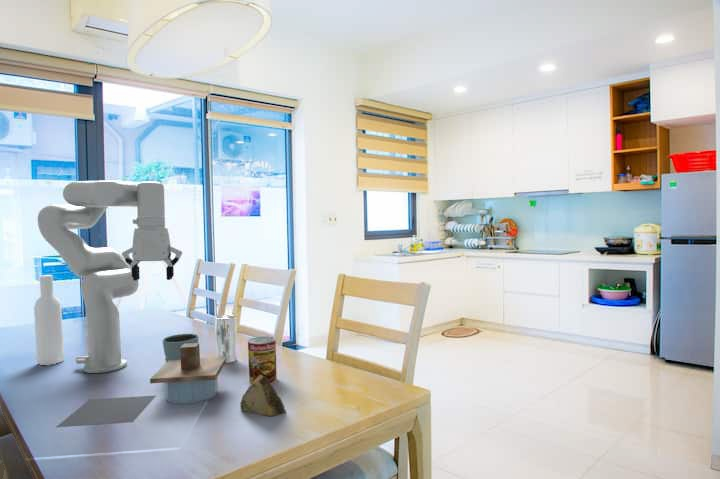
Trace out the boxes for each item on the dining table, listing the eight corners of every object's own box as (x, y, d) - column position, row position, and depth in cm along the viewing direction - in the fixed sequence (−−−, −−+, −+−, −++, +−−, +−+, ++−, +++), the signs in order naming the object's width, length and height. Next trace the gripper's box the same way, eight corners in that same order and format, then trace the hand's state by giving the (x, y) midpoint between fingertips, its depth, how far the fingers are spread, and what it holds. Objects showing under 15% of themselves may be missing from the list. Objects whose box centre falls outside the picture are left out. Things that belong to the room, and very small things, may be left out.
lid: (150, 383, 120) (148, 355, 120) (168, 364, 136) (167, 339, 136) (215, 379, 122) (214, 351, 121) (226, 361, 137) (225, 336, 137)
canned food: (253, 386, 134) (251, 344, 134) (246, 379, 141) (244, 338, 141) (280, 381, 138) (278, 340, 138) (272, 374, 145) (270, 335, 145)
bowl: (159, 406, 122) (158, 381, 122) (174, 388, 135) (173, 365, 135) (211, 402, 123) (210, 378, 123) (221, 385, 136) (220, 363, 136)
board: (55, 428, 110) (55, 427, 110) (89, 400, 127) (89, 399, 127) (132, 423, 112) (132, 421, 112) (156, 396, 129) (156, 395, 129)
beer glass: (232, 364, 156) (230, 319, 155) (212, 363, 158) (210, 318, 157) (241, 358, 163) (239, 314, 162) (222, 357, 164) (221, 314, 164)
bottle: (67, 361, 164) (62, 275, 163) (40, 367, 158) (35, 277, 157) (60, 357, 170) (55, 273, 168) (34, 363, 164) (29, 276, 163)
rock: (227, 402, 117) (244, 409, 109) (244, 370, 121) (262, 374, 113) (261, 420, 122) (280, 427, 114) (277, 388, 126) (296, 393, 118)
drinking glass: (206, 372, 148) (205, 334, 148) (184, 383, 139) (183, 342, 138) (179, 370, 152) (178, 332, 151) (156, 380, 142) (154, 340, 142)
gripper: (116, 223, 139) (118, 281, 140) (177, 223, 141) (178, 280, 142) (126, 223, 147) (128, 278, 148) (184, 222, 148) (185, 277, 149)
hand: (153, 279), depth 145 cm, fingers open, 9 cm apart
